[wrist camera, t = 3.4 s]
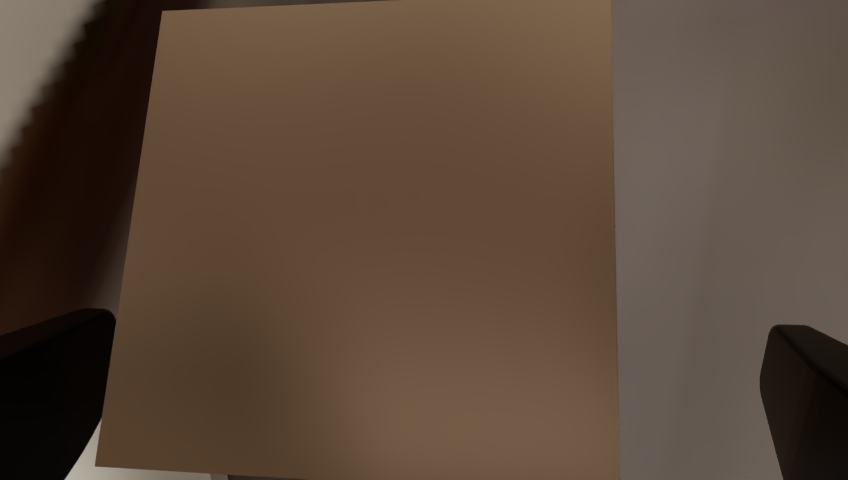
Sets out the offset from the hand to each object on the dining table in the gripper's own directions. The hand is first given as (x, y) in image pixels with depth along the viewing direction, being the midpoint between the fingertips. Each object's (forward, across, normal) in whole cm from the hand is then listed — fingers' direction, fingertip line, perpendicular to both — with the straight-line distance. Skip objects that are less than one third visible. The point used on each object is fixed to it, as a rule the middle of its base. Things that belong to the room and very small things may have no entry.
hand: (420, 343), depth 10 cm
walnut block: (+7, 0, -6) cm, 9 cm away
